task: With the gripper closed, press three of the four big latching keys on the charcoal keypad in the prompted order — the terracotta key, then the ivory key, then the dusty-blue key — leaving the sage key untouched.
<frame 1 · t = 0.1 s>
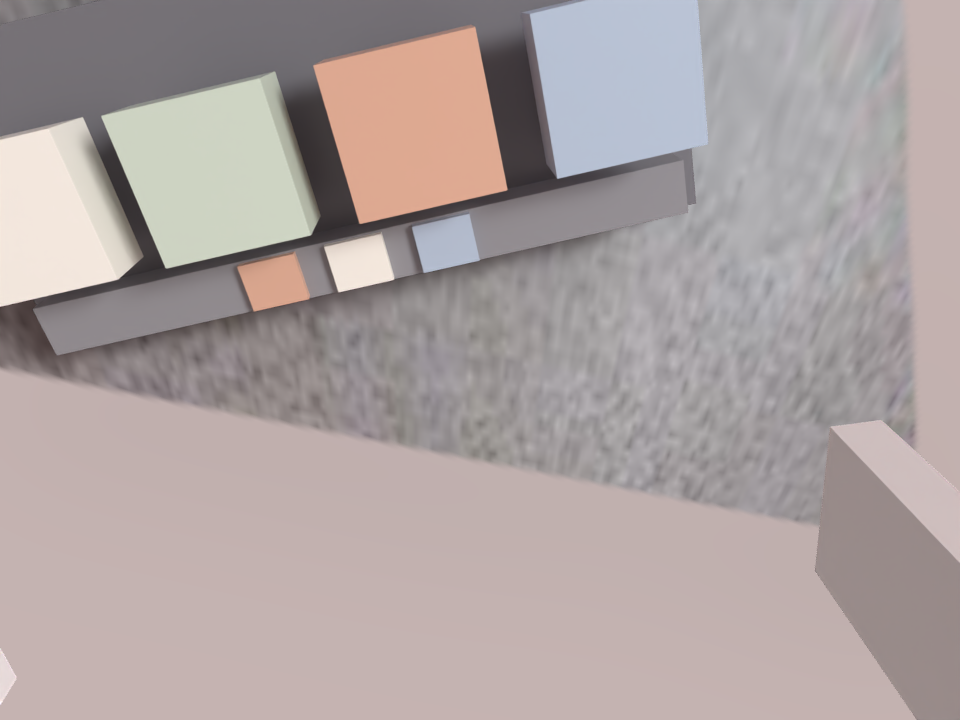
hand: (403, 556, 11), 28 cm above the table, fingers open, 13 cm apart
keypad: (334, 124, 35), on the table
blue key: (613, 78, 29), point 6 cm above the table, slide at 0.0 cm
sage key: (220, 170, 30), point 6 cm above the table, slide at 0.0 cm
ivory key: (29, 214, 30), point 6 cm above the table, slide at 0.0 cm
terracotta key: (415, 124, 29), point 6 cm above the table, slide at 0.0 cm
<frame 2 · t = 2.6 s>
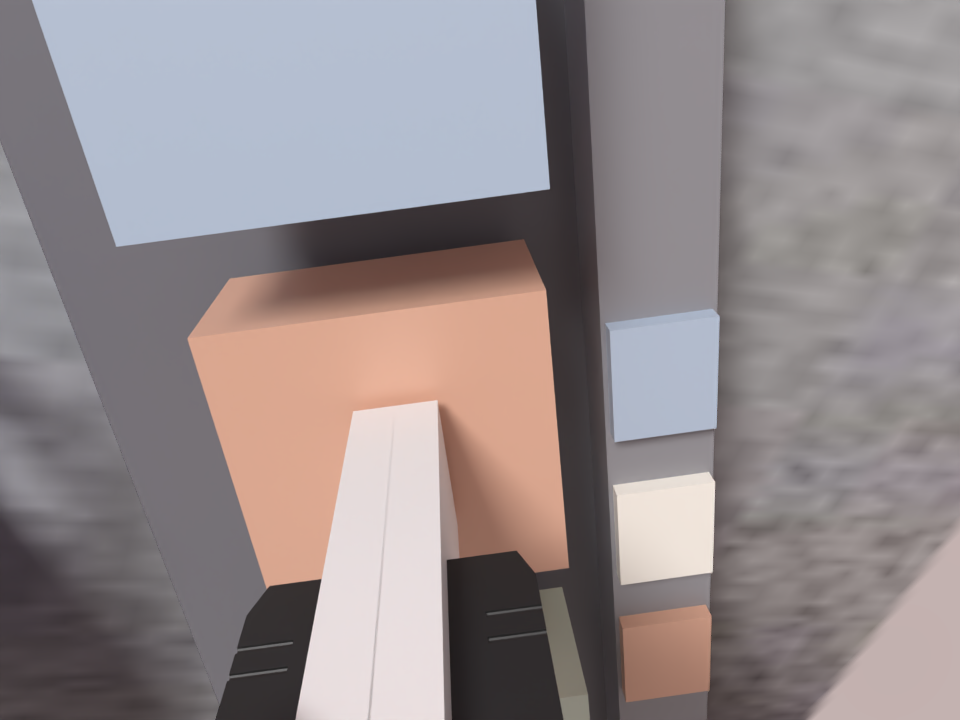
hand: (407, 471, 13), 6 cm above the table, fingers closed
keypad: (427, 461, 21), on the table
terracotta key: (399, 423, 15), point 5 cm above the table, slide at 1.4 cm, touching gripper
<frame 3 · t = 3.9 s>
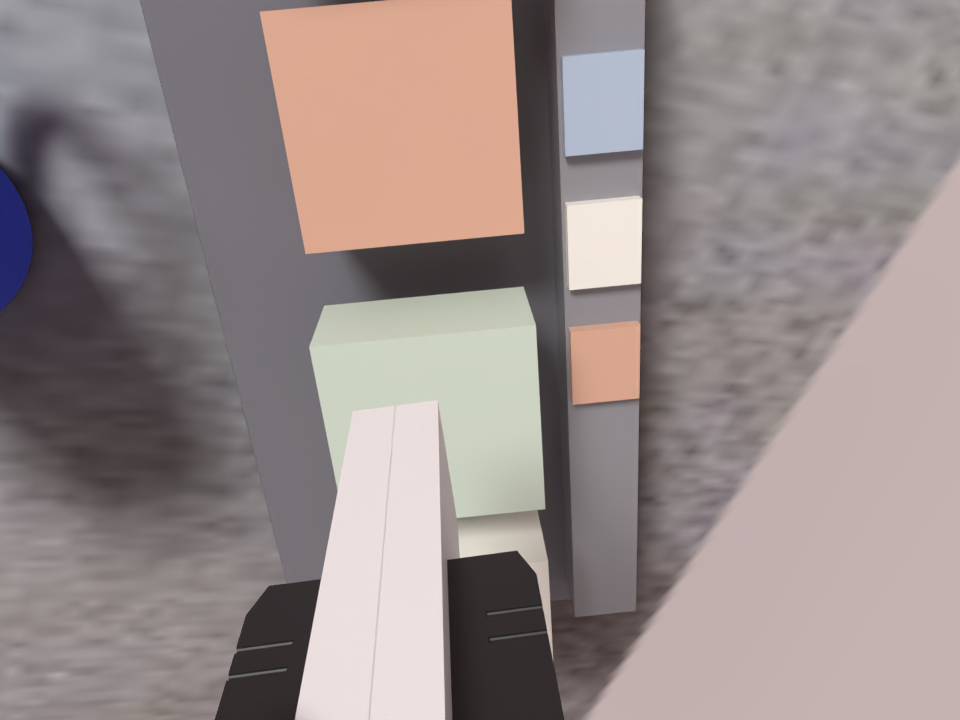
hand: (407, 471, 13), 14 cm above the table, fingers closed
keypad: (422, 223, 26), on the table
sage key: (434, 407, 22), point 6 cm above the table, slide at 0.0 cm
ivory key: (459, 608, 26), point 6 cm above the table, slide at 0.0 cm
terracotta key: (403, 122, 20), point 4 cm above the table, slide at 1.8 cm
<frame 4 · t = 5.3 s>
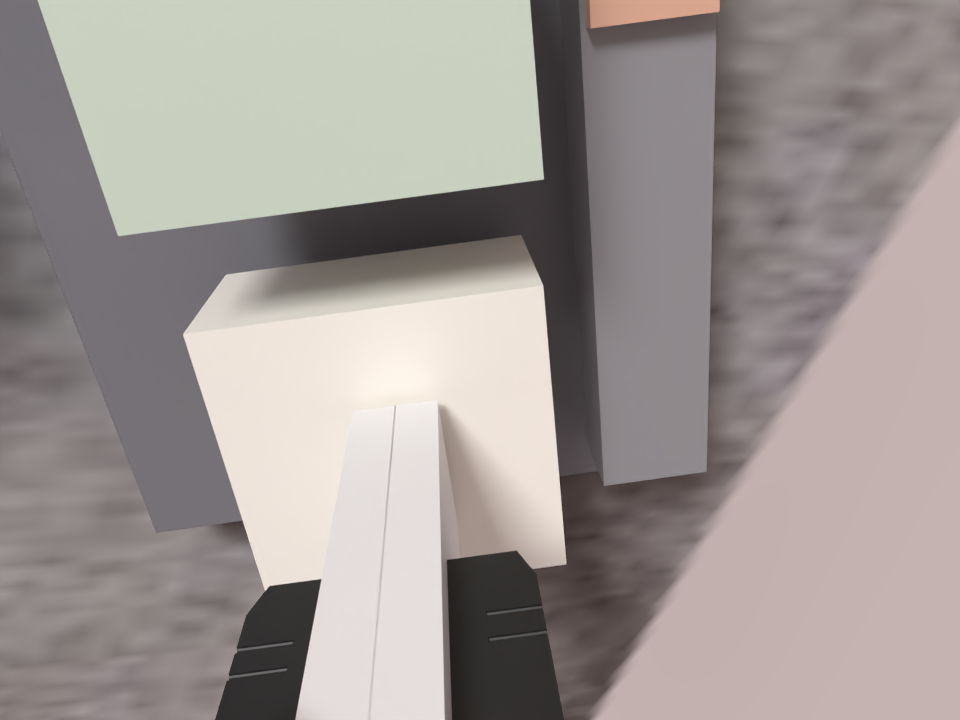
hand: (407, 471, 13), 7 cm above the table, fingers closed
ivory key: (396, 419, 15), point 5 cm above the table, slide at 1.1 cm, touching gripper
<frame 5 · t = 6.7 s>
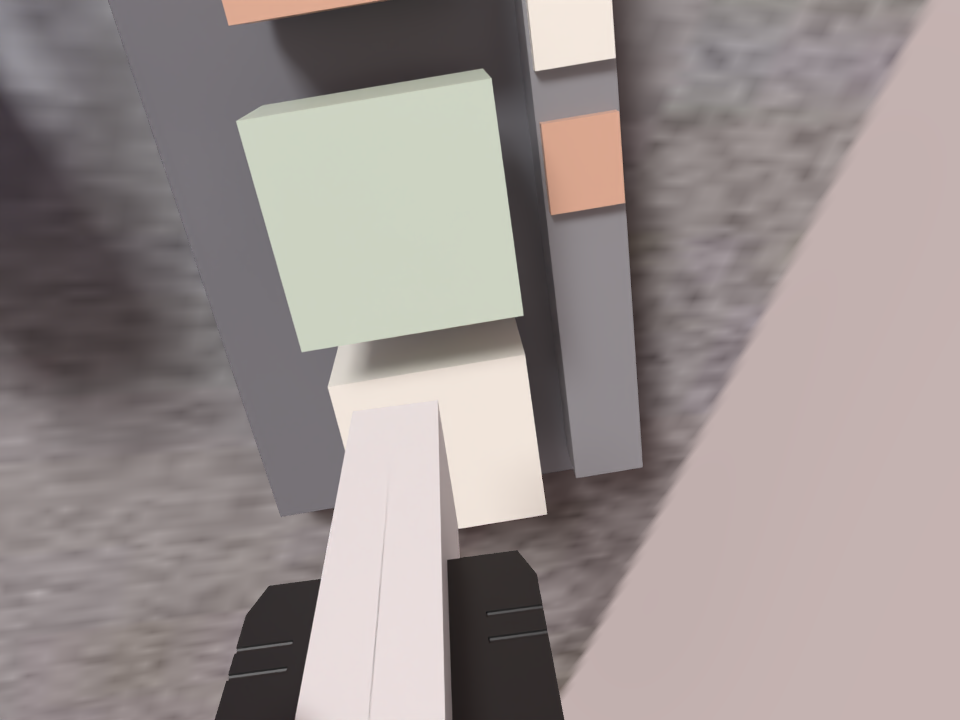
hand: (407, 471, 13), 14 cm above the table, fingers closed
keypad: (375, 39, 23), on the table
sage key: (392, 210, 20), point 6 cm above the table, slide at 0.0 cm
ivory key: (442, 429, 25), point 4 cm above the table, slide at 1.8 cm
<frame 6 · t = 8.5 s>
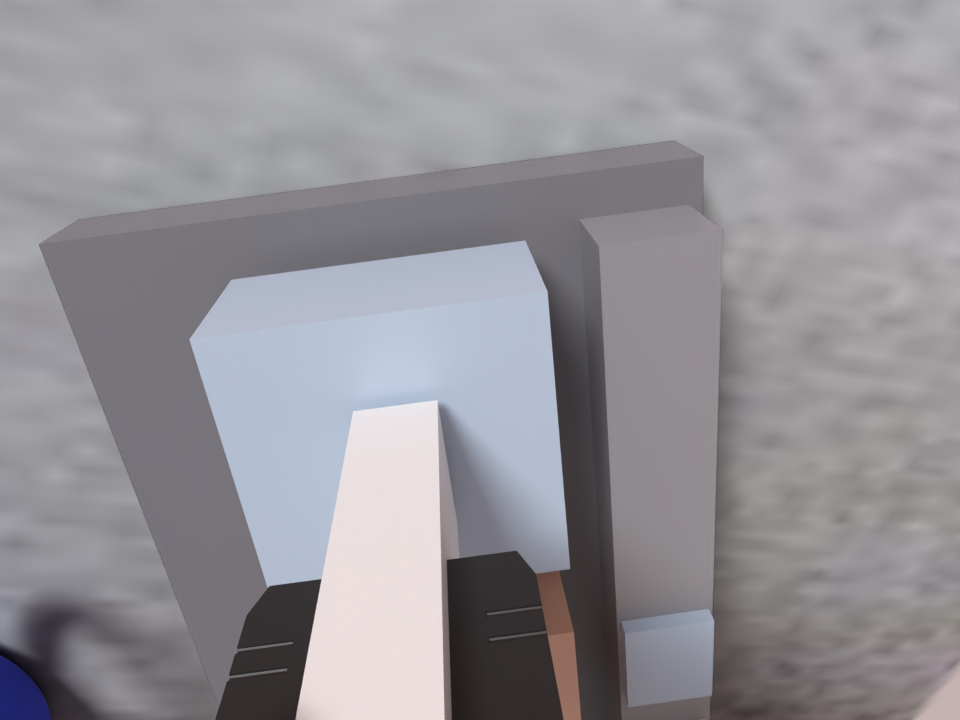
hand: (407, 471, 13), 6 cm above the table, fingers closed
keypad: (463, 668, 24), on the table
blue key: (400, 424, 15), point 4 cm above the table, slide at 1.5 cm, touching gripper
terracotta key: (452, 690, 19), point 4 cm above the table, slide at 1.8 cm
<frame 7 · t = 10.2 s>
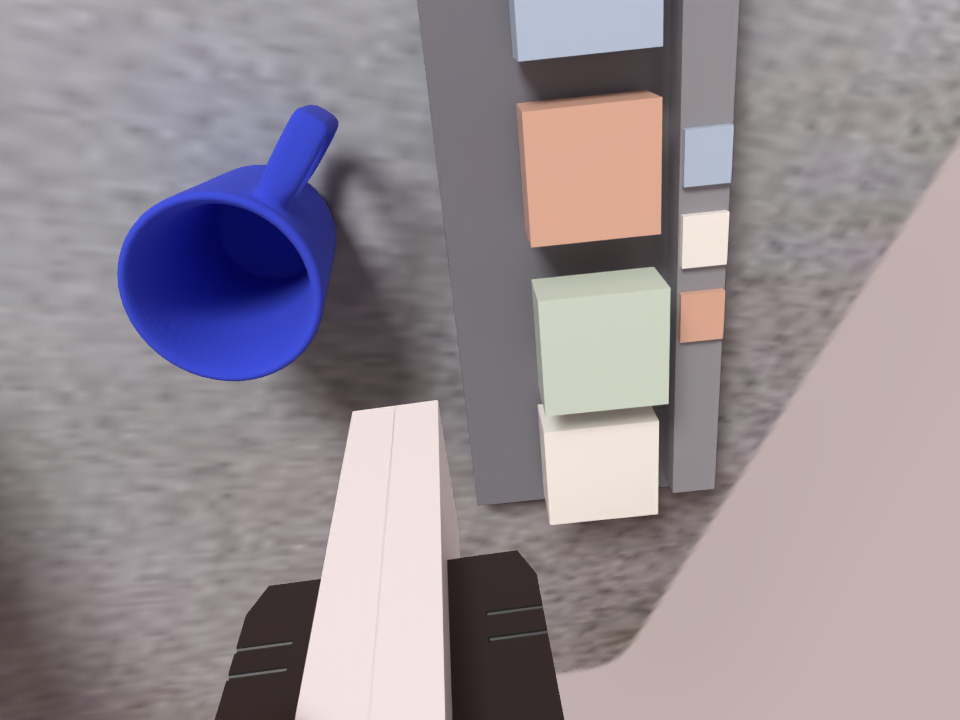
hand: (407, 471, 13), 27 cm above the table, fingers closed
keypad: (577, 227, 40), on the table
sage key: (599, 341, 36), point 6 cm above the table, slide at 0.0 cm
ivory key: (597, 459, 41), point 4 cm above the table, slide at 1.8 cm
mug: (290, 194, 39), on the table
terracotta key: (588, 168, 34), point 4 cm above the table, slide at 1.8 cm
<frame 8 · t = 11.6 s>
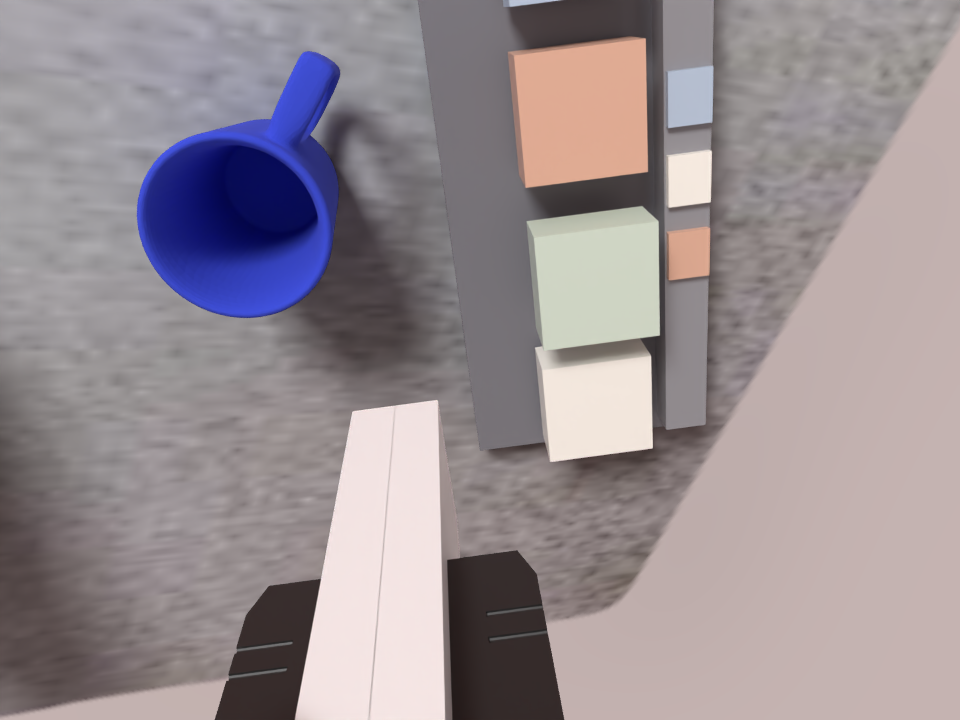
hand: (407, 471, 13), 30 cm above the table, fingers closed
keypad: (568, 176, 42), on the table
sage key: (593, 278, 38), point 6 cm above the table, slide at 0.0 cm
ivory key: (593, 397, 43), point 4 cm above the table, slide at 1.8 cm
mug: (293, 149, 40), on the table
terracotta key: (577, 111, 36), point 4 cm above the table, slide at 1.8 cm
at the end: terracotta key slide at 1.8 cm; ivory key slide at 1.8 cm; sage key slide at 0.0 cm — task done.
